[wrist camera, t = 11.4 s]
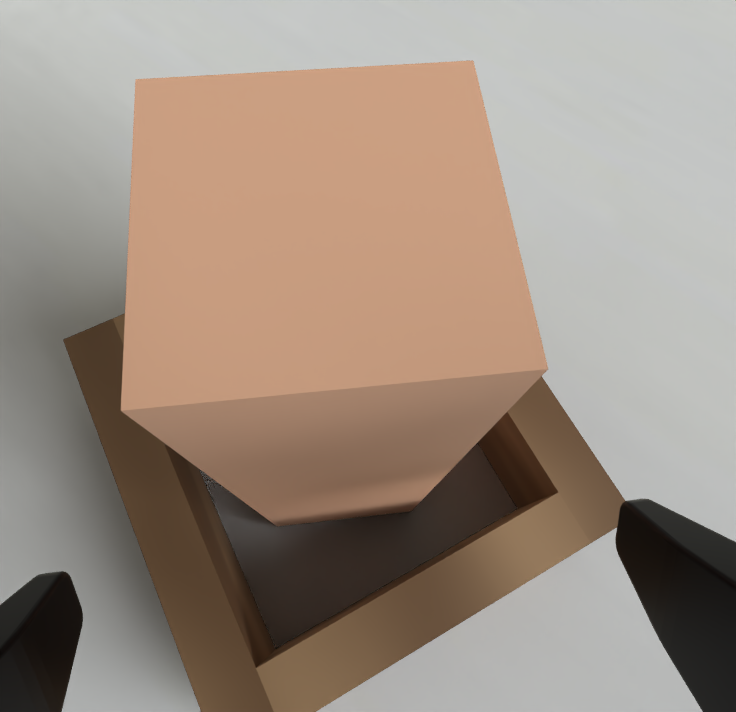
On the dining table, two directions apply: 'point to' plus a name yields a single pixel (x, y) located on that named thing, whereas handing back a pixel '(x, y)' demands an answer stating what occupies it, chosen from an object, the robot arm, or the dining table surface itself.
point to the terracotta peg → (322, 283)
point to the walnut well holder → (369, 615)
